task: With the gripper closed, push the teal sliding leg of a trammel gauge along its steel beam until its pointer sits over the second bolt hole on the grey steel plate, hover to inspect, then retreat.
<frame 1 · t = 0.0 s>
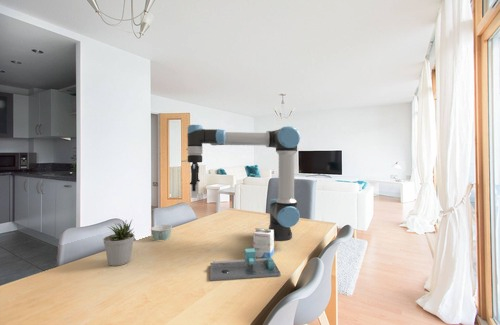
hand: (195, 195, 130), 28 cm above the table, fingers open, 13 cm apart
food container: (161, 238, 147), on the table
potted plant: (119, 263, 113), on the table
sliding leg: (250, 258, 106), point 5 cm above the table, slide at 0.0 cm
ink box: (264, 254, 123), on the table
bolt plate: (243, 270, 105), on the table
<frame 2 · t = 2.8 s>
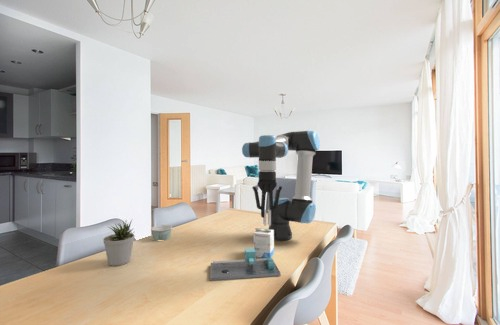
hand: (267, 224, 109), 18 cm above the table, fingers closed
nothing on the table moved.
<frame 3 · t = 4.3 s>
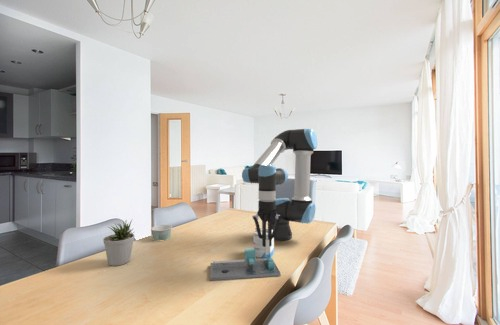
hand: (266, 253, 109), 6 cm above the table, fingers closed
nothing on the table moved.
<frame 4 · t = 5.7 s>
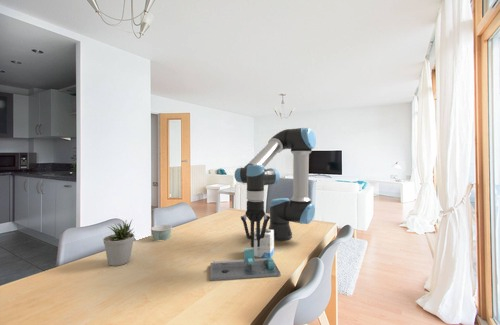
hand: (255, 254, 108), 6 cm above the table, fingers closed
sliding leg: (249, 258, 106), point 5 cm above the table, slide at 0.5 cm, touching gripper
everything else where it was.
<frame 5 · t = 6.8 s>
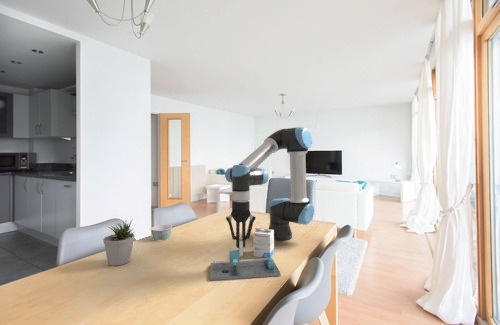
hand: (240, 255, 107), 6 cm above the table, fingers closed
sliding leg: (234, 259, 105), point 5 cm above the table, slide at 6.8 cm, touching gripper
everything else where it was.
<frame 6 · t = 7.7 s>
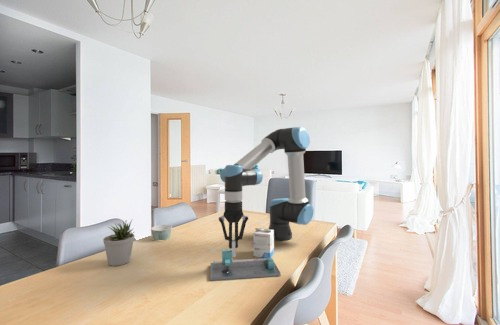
hand: (233, 255, 107), 6 cm above the table, fingers closed
sliding leg: (227, 260, 105), point 5 cm above the table, slide at 10.0 cm, touching gripper
everything else where it was.
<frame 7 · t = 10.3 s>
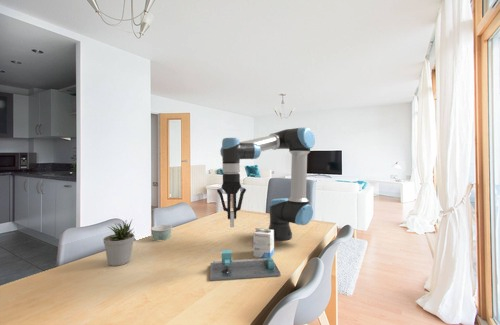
hand: (232, 226, 110), 17 cm above the table, fingers closed
sliding leg: (226, 260, 105), point 5 cm above the table, slide at 10.2 cm
everything else where it was.
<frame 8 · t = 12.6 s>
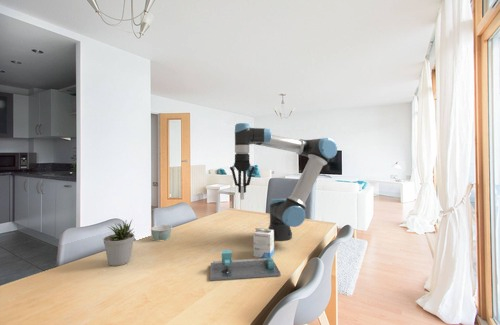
hand: (242, 199, 129), 26 cm above the table, fingers closed
nothing on the table moved.
at the end: sliding leg slide at 10.2 cm; the gripper is holding nothing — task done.
